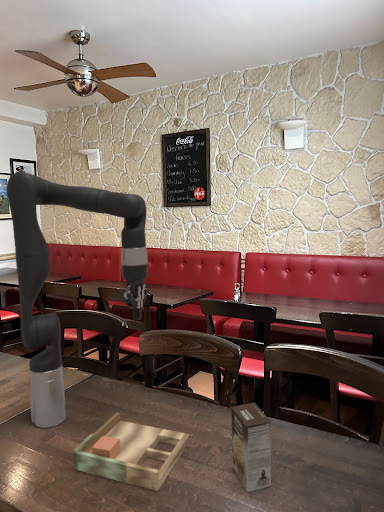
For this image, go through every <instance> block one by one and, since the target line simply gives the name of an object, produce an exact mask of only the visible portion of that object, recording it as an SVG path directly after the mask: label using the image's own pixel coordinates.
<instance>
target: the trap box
mask: <svg viewBox="0 0 384 512" xmlns="http://www.w3.org/2000/svg"><path fill="white" fill-rule="evenodd" d="M102 436H107V437H112V438H117V439H120V450H121V452H120V453H119V454H118V455H117V457H116V458H115V459H111V458H107V457H102V456H98V455H94V454H92V447H93V446H94V444H95V443H96V442H97V441H98V440H99V439H100V438H101V437H102ZM190 436H191V435H190V434H189V433H184V432H180V431H174V430H170V429H164V428H159V427H153V426H150V425H145V424H139V423H135V422H129V421H124V420H121V412H119V411H118V412H117V411H116V412H115V413H114V414H113V415H112V416H110V418H109V419H107V421H106V422H104V424H103V425H101V426H100V427H99V428H98V429H97V430H96V431H95V432H93V433H90V435H88V436H87V437H86V438H85V439H84V440H83V441H82V442H81V443H79V444H78V445H77V446H76V447H75V448H74V449H73V465H74V466H73V467H74V470H76V471H80V472H84V473H87V474H92V475H93V476H99V477H103V478H107V479H111V480H114V481H118V482H122V483H125V484H130V485H134V486H137V487H141V488H144V489H148V490H152V491H155V492H158V491H159V490H160V488H161V487H162V485H163V484H164V482H165V481H166V479H167V478H168V477H169V474H170V473H171V471H172V470H173V468H174V466H175V464H176V463H177V461H179V459H180V457H181V455H182V454H183V453H184V451H185V450H186V448H187V446H188V445H189V443H190V441H191V439H190V438H191V437H190ZM159 443H163V444H168V445H173V446H175V447H174V448H173V450H172V451H171V452H169V451H165V450H160V449H155V448H156V447H157V444H159ZM147 458H149V459H152V460H157V461H161V462H164V463H163V464H162V466H161V467H160V468H159V469H157V468H156V469H155V468H153V467H152V468H151V467H148V466H143V463H144V462H145V461H146V459H147Z"/></svg>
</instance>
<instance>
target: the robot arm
mask: <svg viewBox="0 0 384 512" xmlns="http://www.w3.org/2000/svg"><path fill="white" fill-rule="evenodd" d="M6 193H7V195H6V196H7V200H8V205H9V210H10V214H11V220H12V228H13V229H12V230H13V231H12V232H13V239H14V240H13V241H14V249H15V250H14V251H15V253H14V254H15V265H16V275H17V281H18V282H17V283H18V290H19V302H20V303H19V304H20V305H19V308H20V310H19V311H20V334H21V341H22V344H23V346H24V348H26V349H33V348H39V347H44V346H45V347H46V346H47V347H46V348H45V349H44V350H43V351H41V352H40V353H37V354H36V355H34V356H32V357H31V358H30V360H29V363H28V364H29V375H30V386H31V391H30V392H29V404H30V405H29V406H30V407H29V408H30V418H31V423H33V424H34V426H36V427H38V428H42V429H45V428H46V429H47V428H51V427H56V426H58V425H60V424H62V423H63V422H64V421H65V420H66V418H67V412H66V399H65V398H66V397H65V384H64V383H65V382H64V372H63V371H64V370H63V359H62V347H61V346H62V345H61V344H62V343H61V321H60V318H59V315H57V314H56V313H45V314H39V315H38V314H37V315H33V309H34V304H35V302H36V300H37V297H38V295H39V293H40V291H41V289H42V288H43V287H44V285H45V283H46V282H47V279H48V277H49V275H50V273H51V272H50V271H51V262H50V261H51V260H50V250H49V246H48V244H47V240H46V238H45V236H44V234H43V232H42V229H41V227H40V224H39V221H38V215H37V206H62V207H68V208H72V209H76V210H80V211H84V212H89V213H96V214H103V215H104V214H105V215H109V216H110V215H111V216H114V217H117V218H123V228H122V229H121V235H120V240H121V241H120V243H121V254H120V255H121V272H122V273H121V275H122V279H123V280H125V281H126V283H125V284H126V285H125V289H126V290H125V291H124V292H121V298H122V299H123V301H124V303H125V304H126V306H127V307H128V308H131V309H132V319H133V321H140V320H142V319H143V315H142V314H143V313H142V308H143V306H144V304H145V303H146V302H147V298H148V294H149V290H150V285H146V279H147V278H148V277H149V268H148V267H149V266H148V253H147V243H146V241H147V240H146V222H147V205H146V201H145V199H144V198H143V197H142V196H141V195H138V194H134V193H127V192H117V191H116V192H115V191H111V190H107V189H103V188H96V187H90V186H89V187H88V186H79V185H78V186H77V185H76V186H75V185H65V184H60V183H56V182H53V181H50V180H47V179H44V178H42V177H40V176H38V175H35V174H31V173H28V172H24V171H17V172H14V173H13V174H12V175H10V176H9V178H8V180H7V183H6Z"/></svg>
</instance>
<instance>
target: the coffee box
mask: <svg viewBox="0 0 384 512" xmlns="http://www.w3.org/2000/svg"><path fill="white" fill-rule="evenodd" d="M231 447H232V450H231V451H232V455H231V458H232V459H231V460H232V461H231V463H232V468H233V470H234V472H235V474H236V476H237V477H238V479H239V480H240V483H241V485H242V486H243V488H244V490H245V491H246V492H247V493H250V492H254V491H257V490H261V489H265V488H269V487H271V486H272V421H271V420H270V419H269V417H268V416H267V415H266V414H265V413H264V412H263V410H262V409H261V408H260V407H259V405H258V404H256V402H250V403H249V402H248V403H244V404H240V405H236V406H232V407H231Z"/></svg>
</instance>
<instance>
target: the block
mask: <svg viewBox="0 0 384 512" xmlns="http://www.w3.org/2000/svg"><path fill="white" fill-rule="evenodd" d="M120 452H121V450H120V439H117V438H112V437H107V436H102V437H101V438H100V439H99V440H98V441H97V442H96V443H95V444H94V446H93V447H92V454H94V455H98V456H102V457H107V458H111V459H115V458H116V457H117V455H118V454H119V453H120Z"/></svg>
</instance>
